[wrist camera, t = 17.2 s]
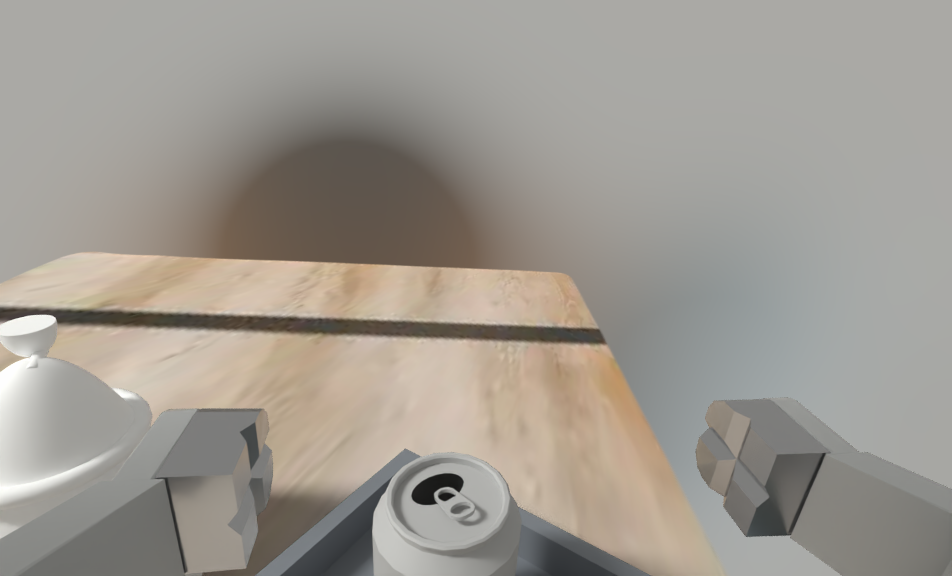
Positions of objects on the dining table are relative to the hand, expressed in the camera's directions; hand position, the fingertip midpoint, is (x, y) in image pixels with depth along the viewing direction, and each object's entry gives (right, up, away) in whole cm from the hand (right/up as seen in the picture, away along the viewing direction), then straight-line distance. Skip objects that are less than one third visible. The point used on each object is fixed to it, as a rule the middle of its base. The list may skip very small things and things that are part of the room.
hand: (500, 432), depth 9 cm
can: (-2, -19, +20) cm, 27 cm away
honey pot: (-25, -17, +24) cm, 39 cm away
